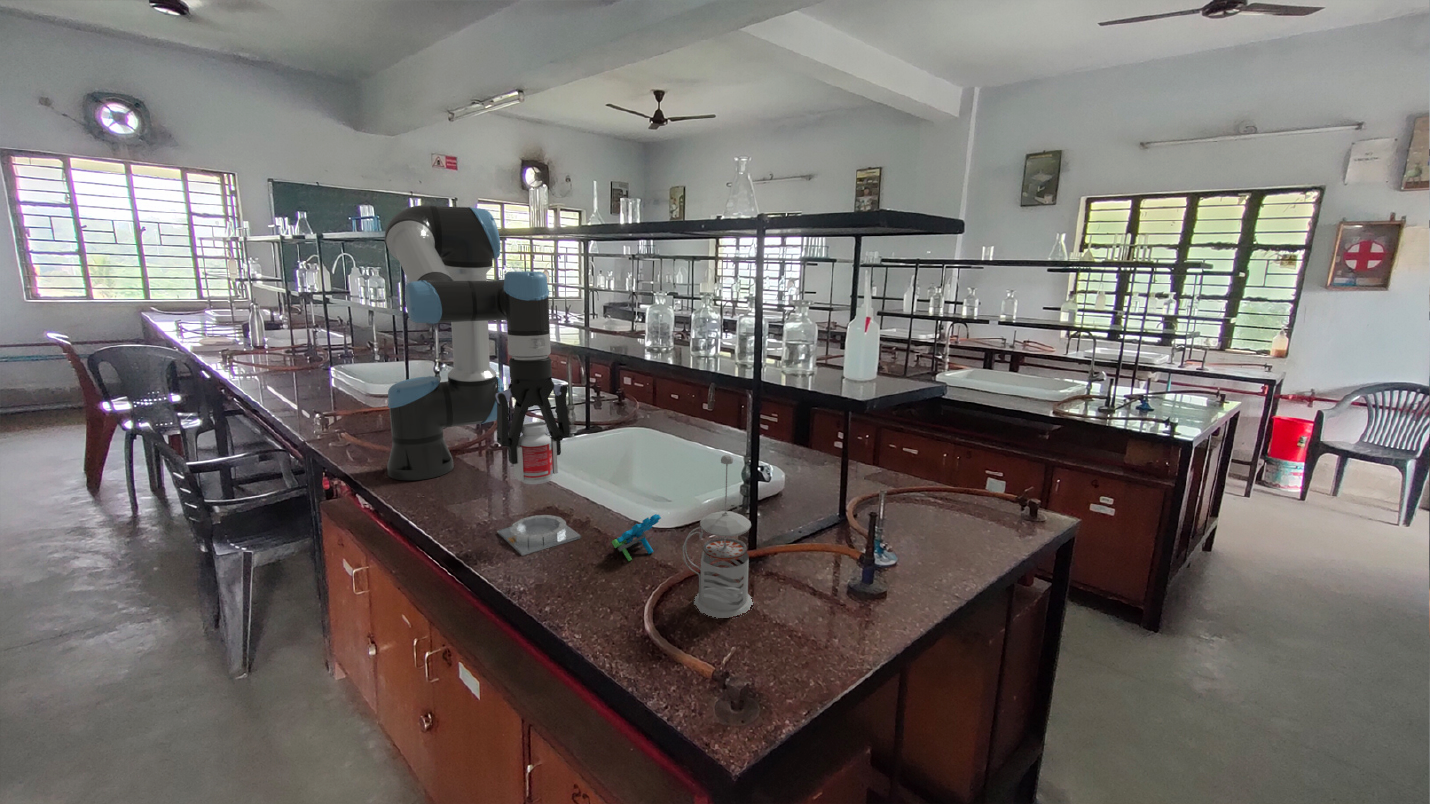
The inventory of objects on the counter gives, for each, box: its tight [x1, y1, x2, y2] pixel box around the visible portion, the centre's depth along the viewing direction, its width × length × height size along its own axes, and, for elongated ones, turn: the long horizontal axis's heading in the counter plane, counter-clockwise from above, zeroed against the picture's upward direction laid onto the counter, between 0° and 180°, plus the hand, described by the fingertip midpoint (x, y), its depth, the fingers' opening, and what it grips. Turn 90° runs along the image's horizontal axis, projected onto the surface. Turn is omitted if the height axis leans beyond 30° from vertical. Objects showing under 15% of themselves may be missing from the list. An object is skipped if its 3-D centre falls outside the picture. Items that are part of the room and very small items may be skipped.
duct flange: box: [497, 514, 582, 557], centre depth 123 cm, size 12×12×2 cm
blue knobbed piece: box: [611, 513, 662, 562], centre depth 117 cm, size 11×6×10 cm
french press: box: [682, 454, 754, 619], centre depth 99 cm, size 10×12×25 cm
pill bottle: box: [518, 421, 554, 485], centre depth 120 cm, size 6×6×11 cm
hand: (536, 475), depth 121 cm, fingers closed on pill bottle, 6 cm apart
